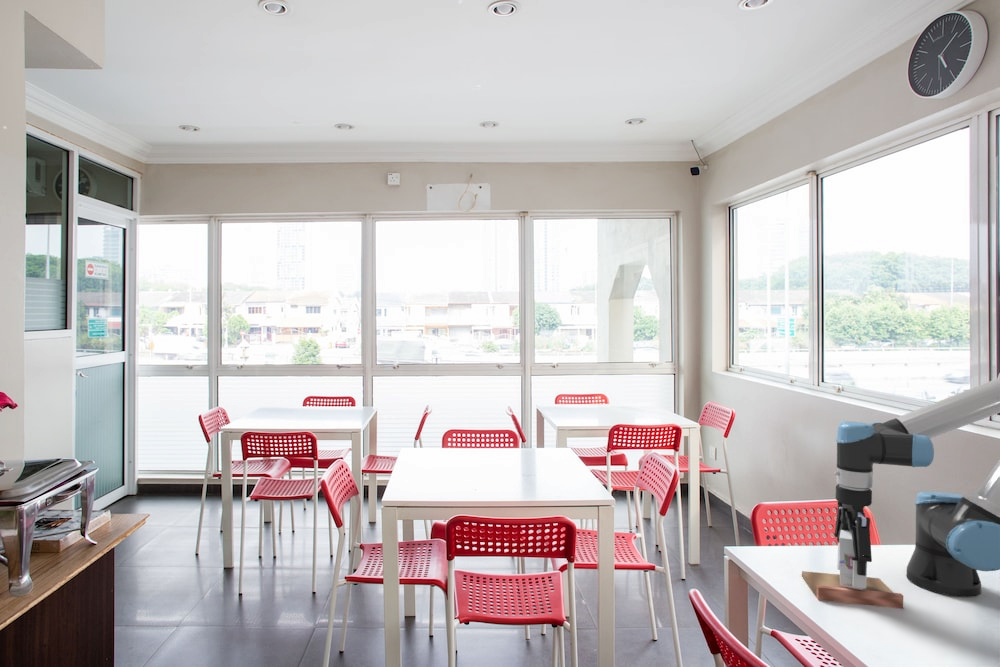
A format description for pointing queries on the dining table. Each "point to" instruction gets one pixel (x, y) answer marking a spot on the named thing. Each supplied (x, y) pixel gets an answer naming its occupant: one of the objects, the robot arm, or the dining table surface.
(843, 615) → the dining table surface
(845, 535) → the ink box
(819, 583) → the shelf board
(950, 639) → the dining table surface
